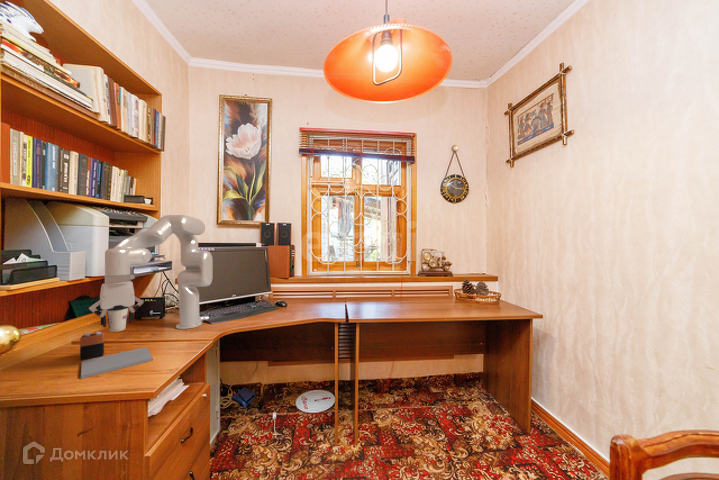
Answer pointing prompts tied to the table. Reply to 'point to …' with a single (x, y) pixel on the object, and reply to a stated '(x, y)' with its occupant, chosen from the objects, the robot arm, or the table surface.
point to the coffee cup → (117, 318)
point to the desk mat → (115, 362)
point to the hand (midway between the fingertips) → (117, 324)
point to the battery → (91, 345)
